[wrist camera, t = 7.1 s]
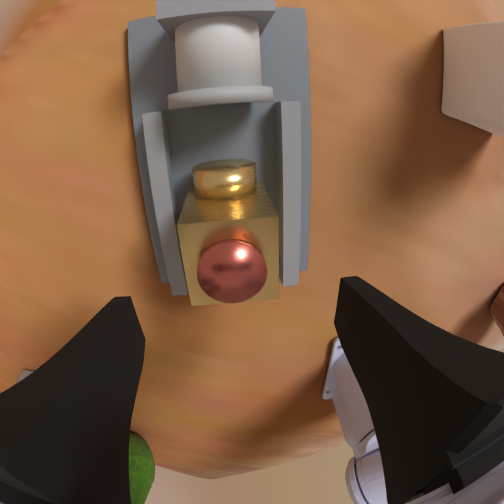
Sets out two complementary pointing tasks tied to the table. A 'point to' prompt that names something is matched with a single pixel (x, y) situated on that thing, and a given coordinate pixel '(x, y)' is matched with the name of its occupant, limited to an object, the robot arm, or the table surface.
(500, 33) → the medicine bottle
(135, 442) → the avocado
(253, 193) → the valve
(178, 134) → the grey piece
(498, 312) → the cupcake
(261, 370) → the table surface
